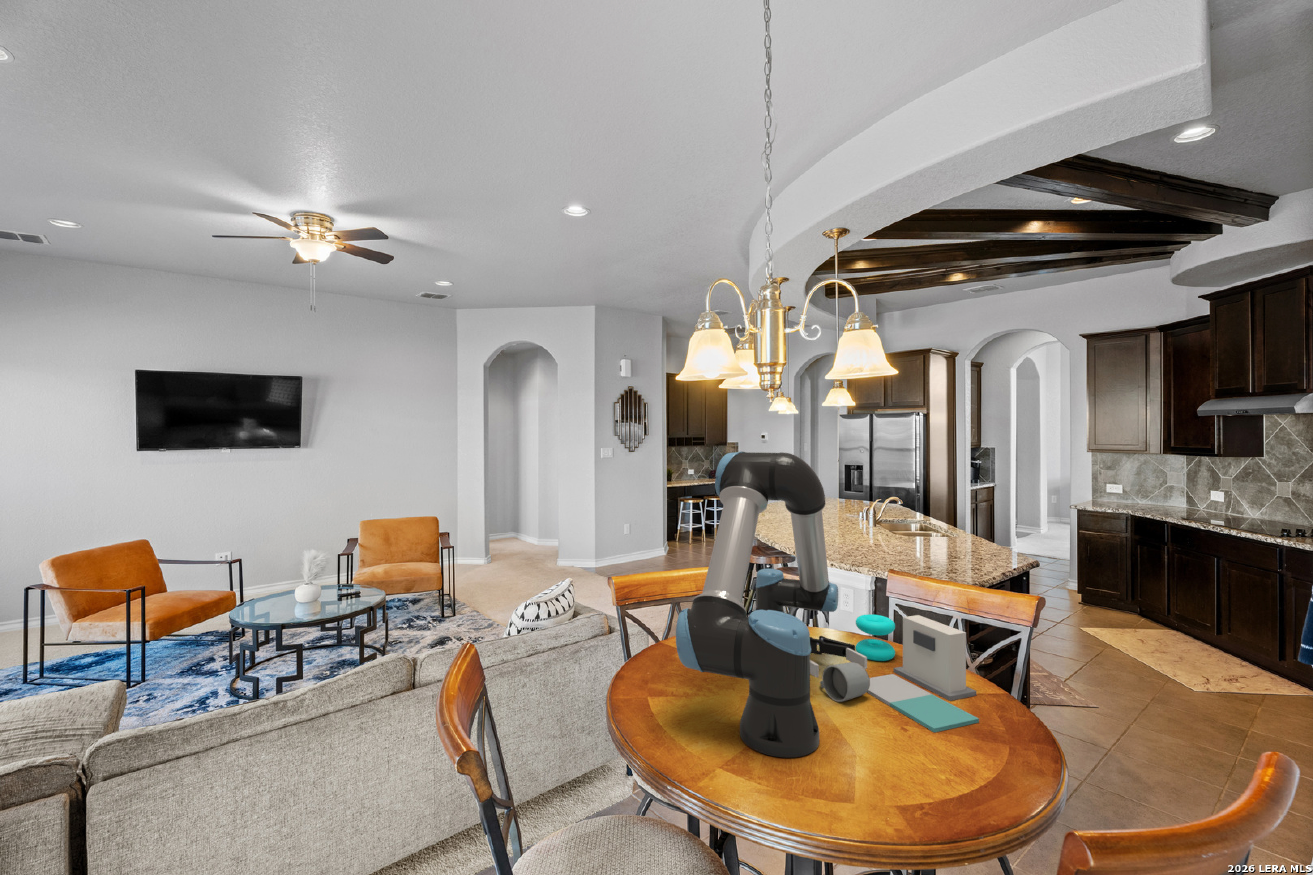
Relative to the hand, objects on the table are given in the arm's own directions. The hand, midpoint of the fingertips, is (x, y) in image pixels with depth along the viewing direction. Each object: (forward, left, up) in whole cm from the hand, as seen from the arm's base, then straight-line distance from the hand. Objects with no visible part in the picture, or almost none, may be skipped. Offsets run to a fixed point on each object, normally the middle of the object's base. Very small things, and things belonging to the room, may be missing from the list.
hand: (842, 667), depth 132 cm
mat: (+11, -9, -6) cm, 16 cm away
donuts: (+23, +16, -6) cm, 29 cm away
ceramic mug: (-1, -1, -6) cm, 6 cm away
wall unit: (+24, -3, -6) cm, 25 cm away
